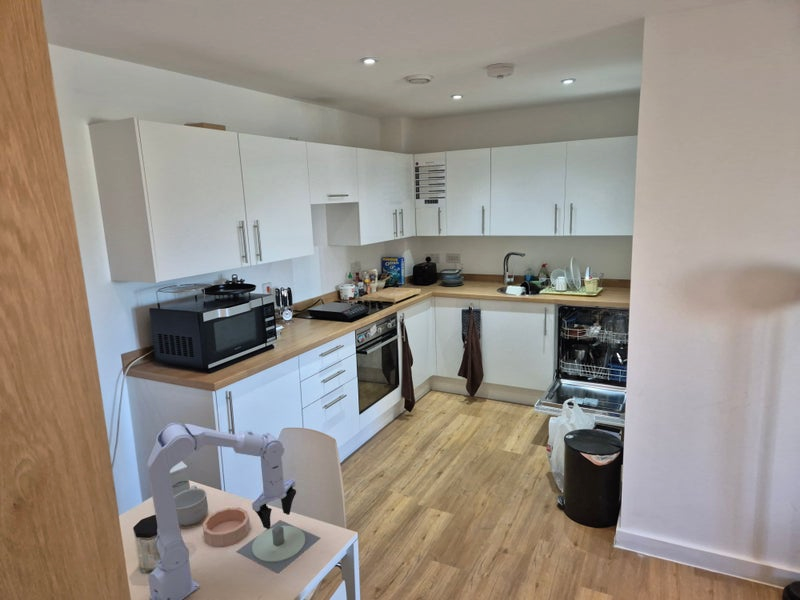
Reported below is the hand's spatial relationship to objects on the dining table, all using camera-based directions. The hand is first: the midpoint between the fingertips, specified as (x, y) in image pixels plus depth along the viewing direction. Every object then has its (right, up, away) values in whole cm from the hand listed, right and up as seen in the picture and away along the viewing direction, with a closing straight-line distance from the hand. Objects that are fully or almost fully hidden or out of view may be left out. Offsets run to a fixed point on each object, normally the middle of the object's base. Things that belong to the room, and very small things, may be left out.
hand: (276, 520), depth 147 cm
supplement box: (-40, -5, +27) cm, 49 cm away
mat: (0, -8, +2) cm, 8 cm away
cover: (0, -8, +1) cm, 8 cm away
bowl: (-17, -8, +8) cm, 20 cm away
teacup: (-31, -7, +17) cm, 36 cm away
